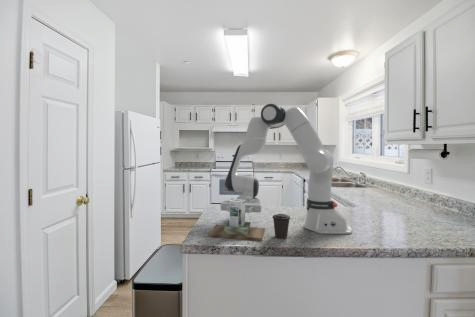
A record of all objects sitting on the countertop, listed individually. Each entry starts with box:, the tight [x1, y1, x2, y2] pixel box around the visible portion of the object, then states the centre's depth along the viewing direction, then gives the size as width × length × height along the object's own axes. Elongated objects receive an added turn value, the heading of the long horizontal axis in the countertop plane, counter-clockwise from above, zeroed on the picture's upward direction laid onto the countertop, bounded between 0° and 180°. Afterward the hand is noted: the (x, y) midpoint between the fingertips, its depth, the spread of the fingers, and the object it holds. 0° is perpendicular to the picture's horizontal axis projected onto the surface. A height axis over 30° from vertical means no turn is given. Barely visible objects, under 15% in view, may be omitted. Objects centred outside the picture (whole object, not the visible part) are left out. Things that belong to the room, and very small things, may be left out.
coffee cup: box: [272, 213, 291, 240], centre depth 121 cm, size 8×8×10 cm
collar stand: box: [208, 220, 266, 242], centre depth 125 cm, size 24×14×4 cm, turn 79°
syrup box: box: [229, 198, 246, 228], centre depth 125 cm, size 6×6×14 cm
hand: (238, 210), depth 126 cm, fingers open, 8 cm apart
